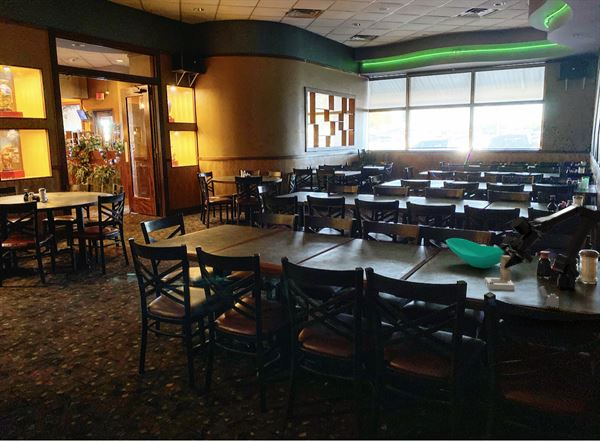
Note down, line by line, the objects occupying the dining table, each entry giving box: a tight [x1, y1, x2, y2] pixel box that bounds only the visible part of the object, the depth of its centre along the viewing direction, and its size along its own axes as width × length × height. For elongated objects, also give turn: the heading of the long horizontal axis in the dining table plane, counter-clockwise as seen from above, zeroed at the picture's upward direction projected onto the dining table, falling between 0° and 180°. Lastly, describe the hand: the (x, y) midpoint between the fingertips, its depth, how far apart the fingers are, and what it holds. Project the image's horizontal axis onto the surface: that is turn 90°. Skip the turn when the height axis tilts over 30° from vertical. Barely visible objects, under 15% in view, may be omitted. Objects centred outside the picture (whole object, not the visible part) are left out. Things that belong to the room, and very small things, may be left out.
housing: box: [484, 277, 516, 291], centre depth 223 cm, size 11×11×3 cm
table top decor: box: [445, 237, 512, 269], centre depth 256 cm, size 40×28×13 cm
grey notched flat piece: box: [539, 285, 560, 309], centre depth 195 cm, size 7×2×8 cm, turn 47°
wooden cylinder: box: [499, 255, 512, 282], centre depth 211 cm, size 3×3×12 cm
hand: (502, 266), depth 211 cm, fingers closed on wooden cylinder, 3 cm apart
